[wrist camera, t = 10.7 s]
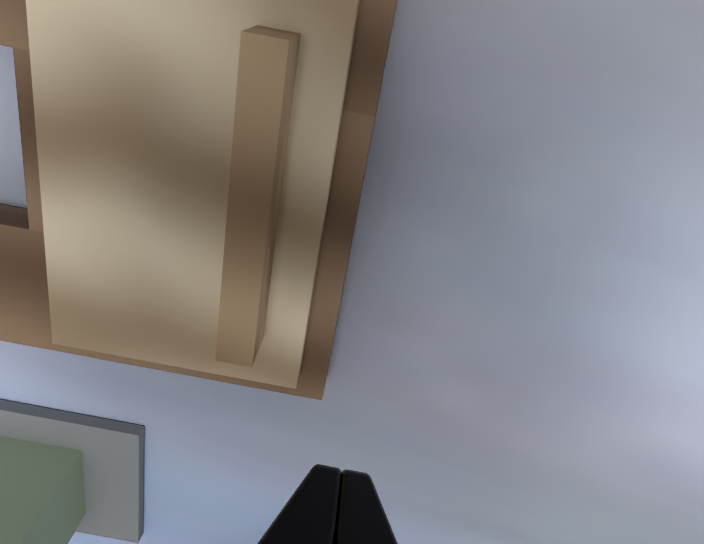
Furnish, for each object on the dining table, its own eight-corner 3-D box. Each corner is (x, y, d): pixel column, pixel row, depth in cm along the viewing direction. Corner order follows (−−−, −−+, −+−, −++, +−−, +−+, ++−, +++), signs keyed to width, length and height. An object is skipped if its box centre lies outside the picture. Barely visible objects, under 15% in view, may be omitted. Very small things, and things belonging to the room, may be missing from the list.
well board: (326, 376, 24) (321, 400, 23) (-136, 290, 24) (-167, 309, 23) (410, -70, 17) (410, -74, 15) (-254, -199, 17) (-312, -214, 15)
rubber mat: (143, 532, 29) (138, 543, 29) (-37, 499, 29) (-45, 509, 29) (144, 426, 26) (138, 435, 26) (-58, 388, 26) (-68, 397, 25)
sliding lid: (299, 375, 22) (287, 422, 20) (63, 331, 22) (24, 373, 20) (366, -39, 16) (359, -41, 14) (34, -103, 16) (-29, -115, 13)
